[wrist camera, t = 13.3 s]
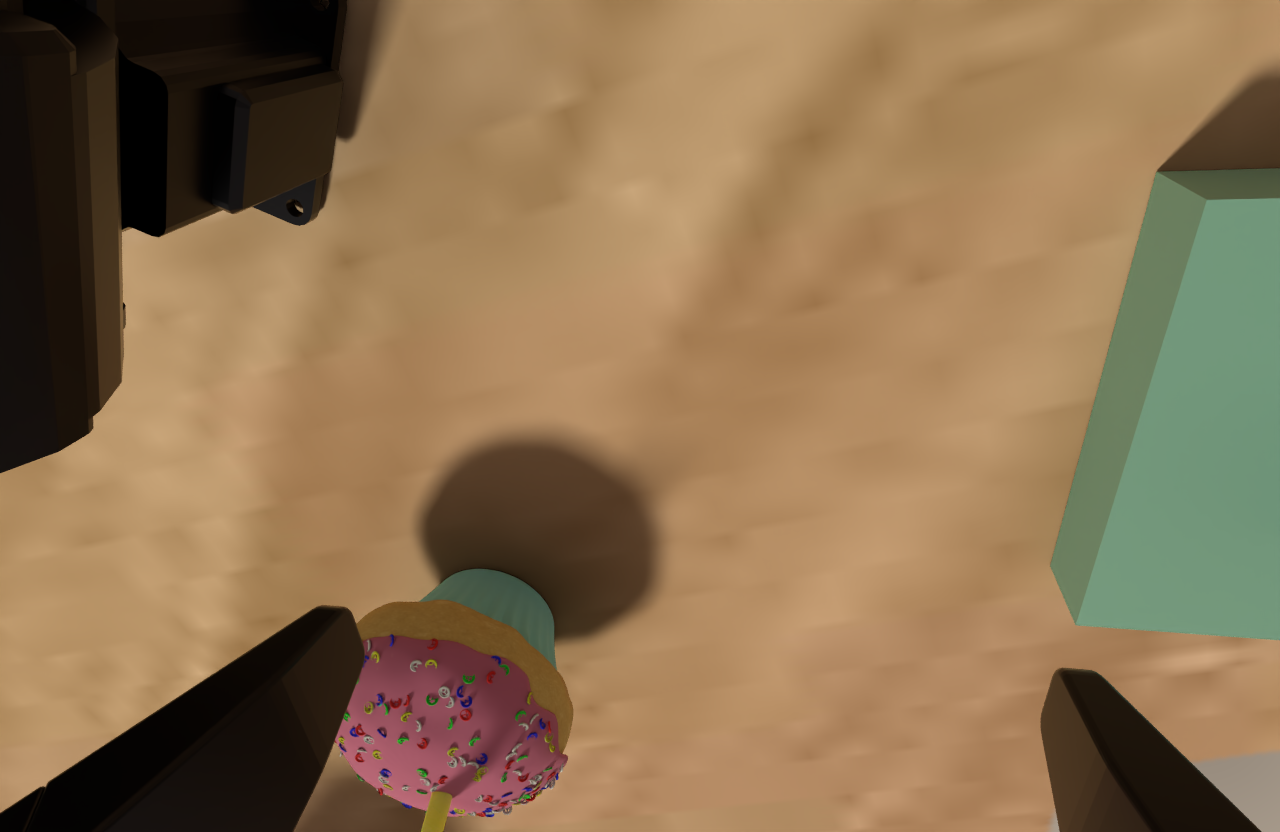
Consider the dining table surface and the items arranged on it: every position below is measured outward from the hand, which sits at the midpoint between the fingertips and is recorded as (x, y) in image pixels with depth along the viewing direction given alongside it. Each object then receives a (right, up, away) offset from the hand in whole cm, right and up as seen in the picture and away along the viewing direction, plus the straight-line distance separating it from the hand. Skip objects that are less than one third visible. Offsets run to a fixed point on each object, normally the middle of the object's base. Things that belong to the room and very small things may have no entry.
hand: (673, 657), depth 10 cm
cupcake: (-6, -5, +20) cm, 21 cm away
